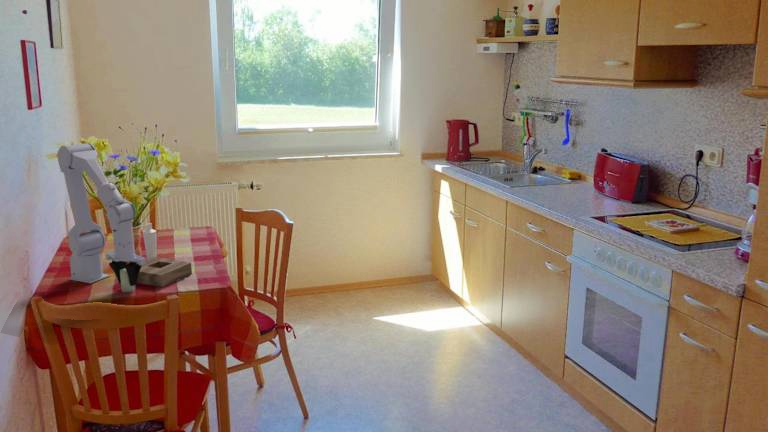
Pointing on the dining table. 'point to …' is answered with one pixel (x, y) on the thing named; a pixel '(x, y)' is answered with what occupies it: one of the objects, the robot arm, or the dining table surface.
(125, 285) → the pale green block
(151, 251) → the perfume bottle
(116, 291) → the dining table surface
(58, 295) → the dining table surface
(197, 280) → the dining table surface
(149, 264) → the socket board
